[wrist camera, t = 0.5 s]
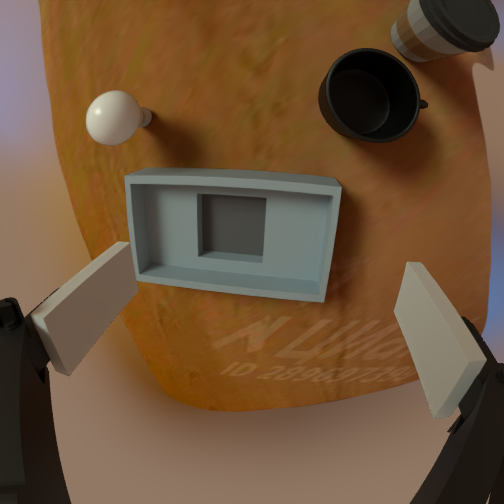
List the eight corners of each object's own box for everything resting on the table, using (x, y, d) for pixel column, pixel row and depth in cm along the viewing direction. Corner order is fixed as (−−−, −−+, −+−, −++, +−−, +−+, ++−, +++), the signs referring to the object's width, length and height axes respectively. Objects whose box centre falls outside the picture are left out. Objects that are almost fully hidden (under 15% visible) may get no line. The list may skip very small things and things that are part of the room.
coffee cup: (408, 80, 28) (469, 60, 15) (369, 26, 26) (407, -22, 13) (450, 56, 25) (516, 35, 12) (413, 5, 23) (463, -38, 10)
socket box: (147, 167, 38) (124, 175, 32) (334, 177, 35) (341, 187, 30) (153, 261, 43) (135, 280, 38) (320, 278, 41) (323, 302, 35)
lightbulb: (119, 107, 35) (68, 108, 25) (157, 86, 33) (111, 77, 23) (134, 147, 37) (85, 158, 27) (173, 128, 35) (129, 132, 25)
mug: (411, 143, 32) (443, 150, 23) (319, 137, 33) (326, 140, 25) (409, 72, 28) (440, 60, 20) (316, 63, 30) (322, 43, 21)
